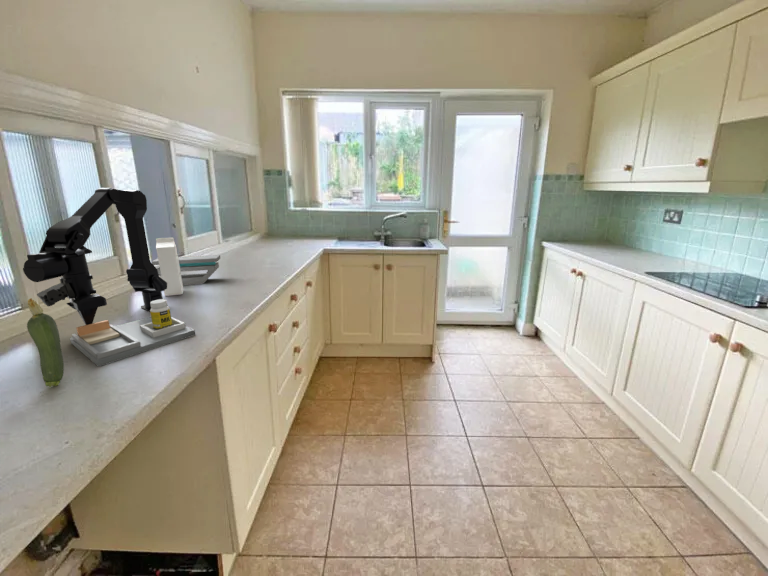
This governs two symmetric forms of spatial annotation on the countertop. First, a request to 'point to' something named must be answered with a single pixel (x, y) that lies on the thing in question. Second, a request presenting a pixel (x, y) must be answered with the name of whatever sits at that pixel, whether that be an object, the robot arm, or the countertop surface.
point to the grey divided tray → (132, 340)
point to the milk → (169, 265)
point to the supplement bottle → (160, 314)
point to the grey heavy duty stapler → (195, 268)
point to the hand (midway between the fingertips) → (89, 326)
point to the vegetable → (46, 344)
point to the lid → (96, 332)
